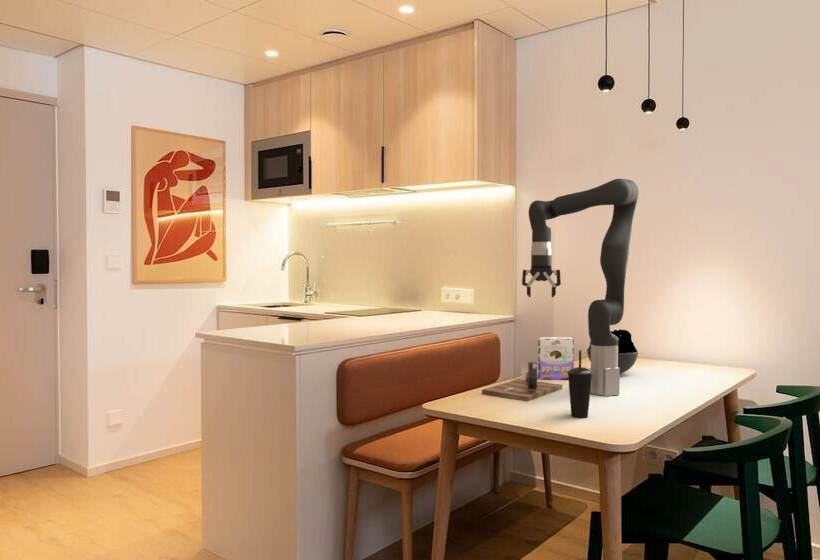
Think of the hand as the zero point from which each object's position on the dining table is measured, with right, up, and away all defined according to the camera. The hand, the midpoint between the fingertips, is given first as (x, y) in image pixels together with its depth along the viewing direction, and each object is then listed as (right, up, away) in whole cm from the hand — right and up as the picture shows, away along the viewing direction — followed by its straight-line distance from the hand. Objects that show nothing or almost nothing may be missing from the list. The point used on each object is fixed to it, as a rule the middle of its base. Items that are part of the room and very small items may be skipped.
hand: (541, 297), depth 242 cm
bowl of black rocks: (+34, -33, +22) cm, 52 cm away
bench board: (-9, -34, -12) cm, 37 cm away
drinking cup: (+2, -35, -47) cm, 59 cm away
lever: (-6, -32, -12) cm, 34 cm away
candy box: (+8, -33, +13) cm, 36 cm away
